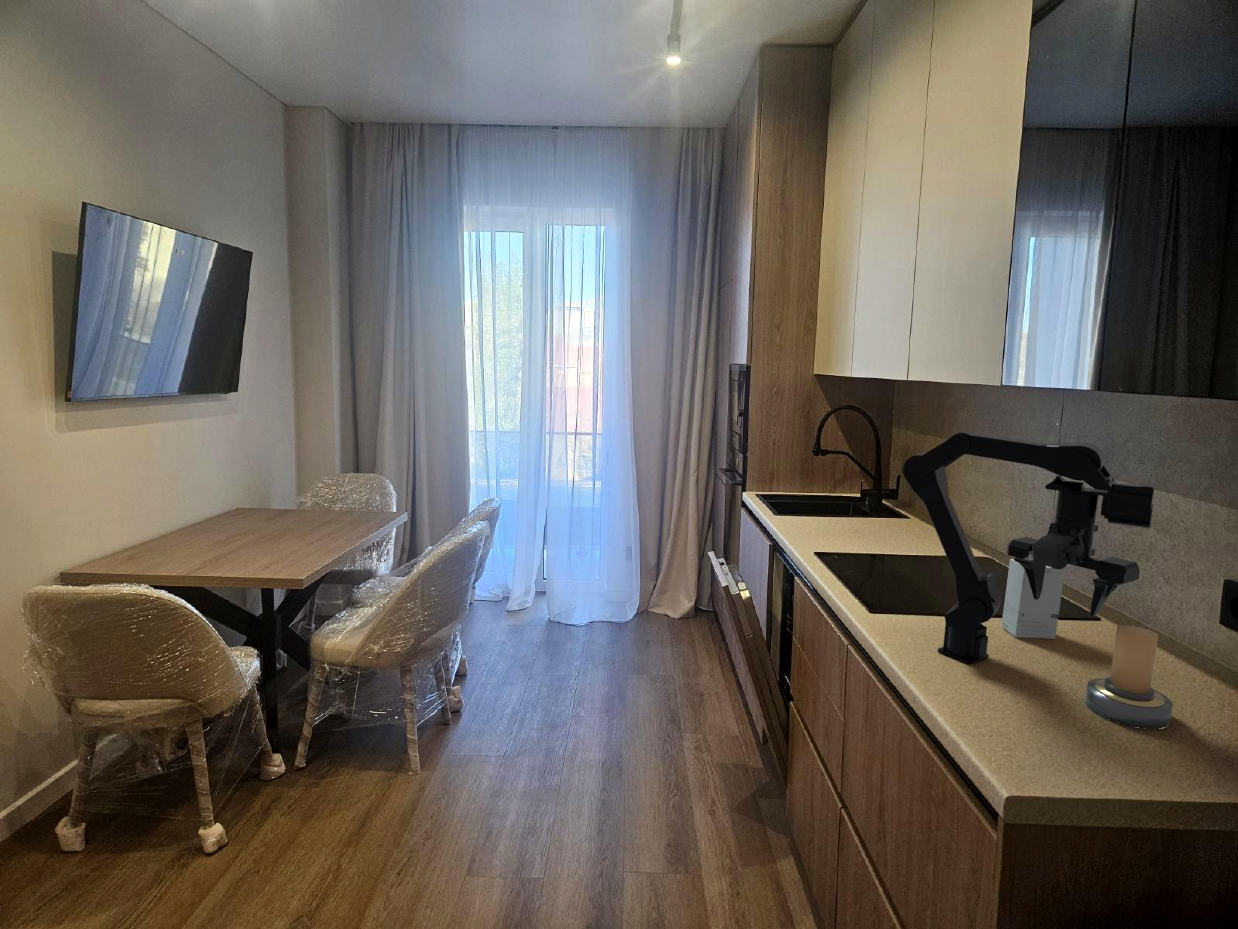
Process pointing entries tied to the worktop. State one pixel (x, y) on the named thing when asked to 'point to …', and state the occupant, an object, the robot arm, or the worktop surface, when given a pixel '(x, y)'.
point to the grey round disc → (1128, 707)
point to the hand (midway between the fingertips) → (1063, 607)
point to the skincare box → (1032, 603)
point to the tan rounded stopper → (1133, 664)
